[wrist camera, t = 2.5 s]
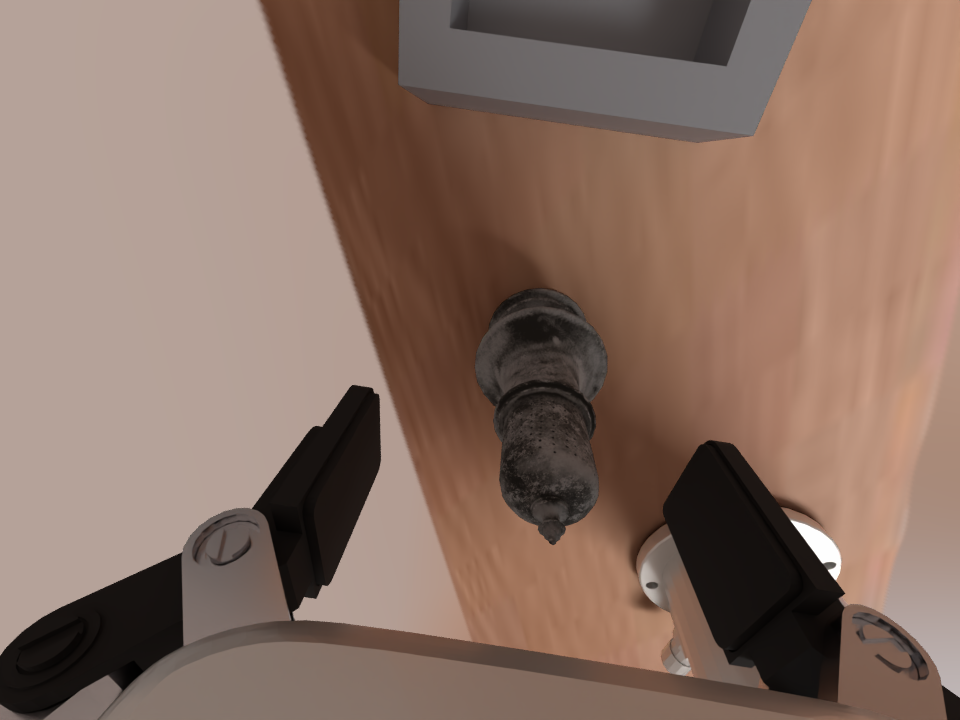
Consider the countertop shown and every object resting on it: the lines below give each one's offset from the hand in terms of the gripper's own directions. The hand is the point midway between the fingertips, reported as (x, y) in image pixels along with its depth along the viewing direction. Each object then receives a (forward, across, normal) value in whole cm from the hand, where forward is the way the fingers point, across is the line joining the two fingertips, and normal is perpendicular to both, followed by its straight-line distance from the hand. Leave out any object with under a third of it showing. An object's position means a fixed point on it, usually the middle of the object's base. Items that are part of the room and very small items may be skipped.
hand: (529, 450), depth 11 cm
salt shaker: (+10, -1, +1) cm, 10 cm away
